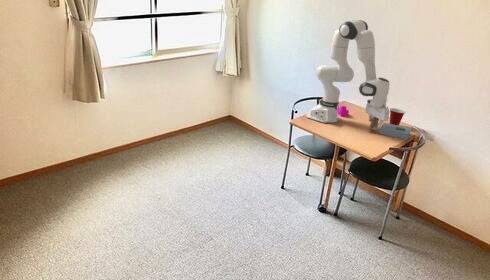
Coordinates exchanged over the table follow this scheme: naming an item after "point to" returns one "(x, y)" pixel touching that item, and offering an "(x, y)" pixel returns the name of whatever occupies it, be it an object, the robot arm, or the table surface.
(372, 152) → the table surface
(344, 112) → the toy block
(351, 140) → the table surface
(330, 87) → the robot arm
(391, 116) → the plastic cup
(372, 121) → the walnut peg
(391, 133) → the socket board
